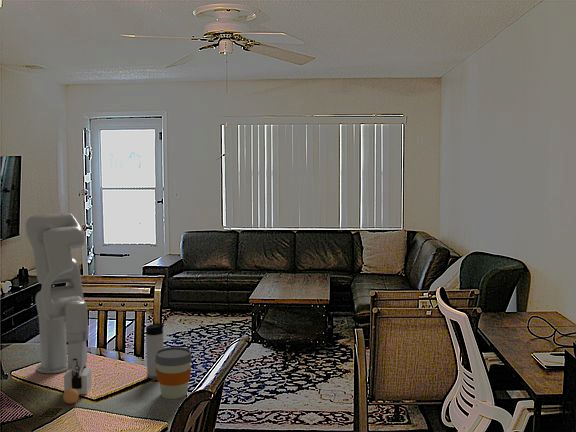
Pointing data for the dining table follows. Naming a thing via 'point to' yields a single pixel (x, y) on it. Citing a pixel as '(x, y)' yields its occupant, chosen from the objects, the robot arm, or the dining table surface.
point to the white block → (85, 380)
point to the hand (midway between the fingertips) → (79, 384)
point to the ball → (71, 396)
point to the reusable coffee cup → (173, 371)
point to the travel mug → (153, 347)
